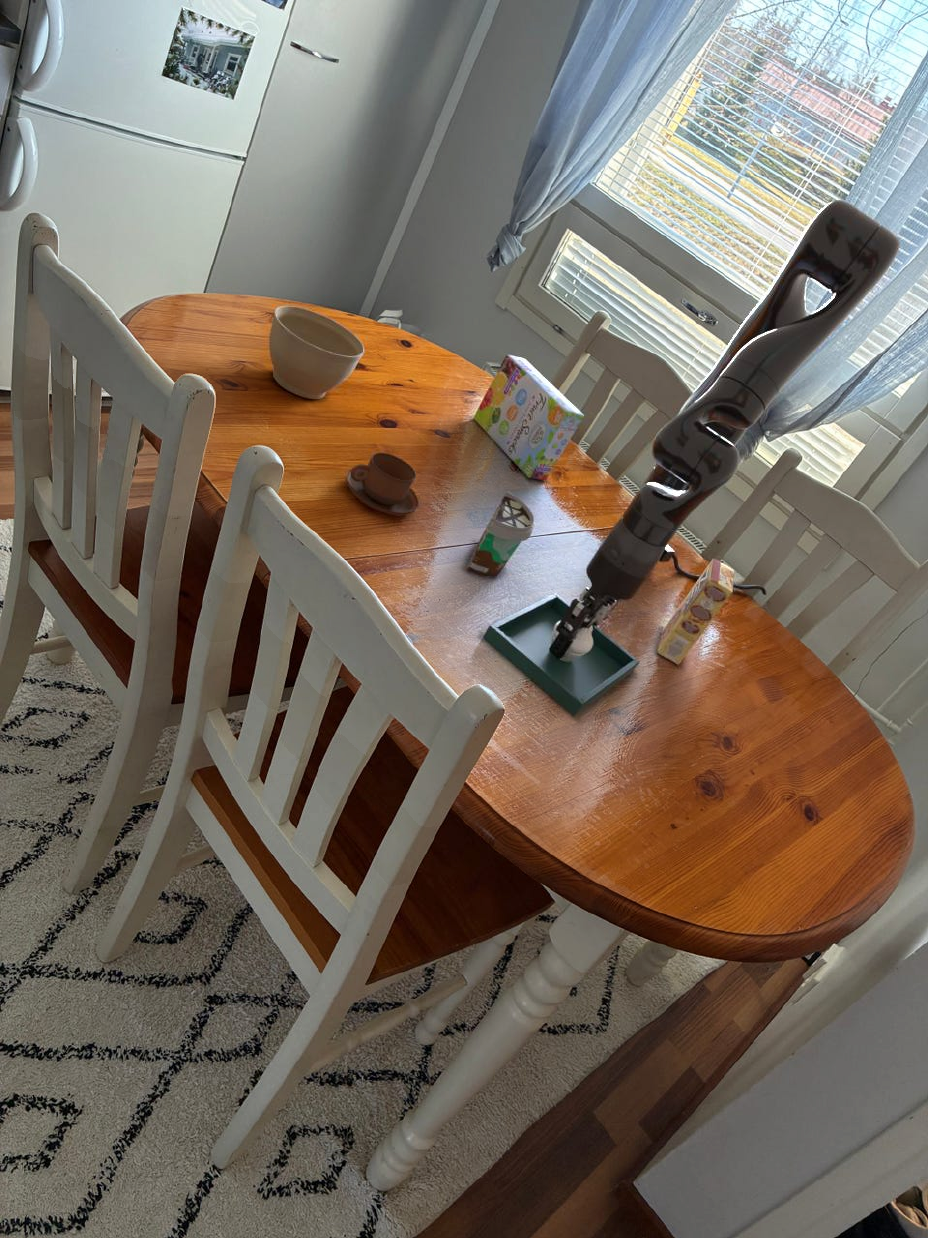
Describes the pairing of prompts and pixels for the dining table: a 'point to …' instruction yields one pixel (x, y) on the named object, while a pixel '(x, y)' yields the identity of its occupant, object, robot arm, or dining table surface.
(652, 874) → the dining table surface
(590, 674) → the tray
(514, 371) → the snack box
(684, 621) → the candy box
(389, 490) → the cup and saucer
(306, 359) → the planter bowl
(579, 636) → the muffin
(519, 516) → the food container
